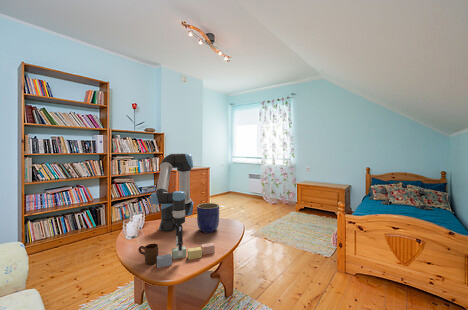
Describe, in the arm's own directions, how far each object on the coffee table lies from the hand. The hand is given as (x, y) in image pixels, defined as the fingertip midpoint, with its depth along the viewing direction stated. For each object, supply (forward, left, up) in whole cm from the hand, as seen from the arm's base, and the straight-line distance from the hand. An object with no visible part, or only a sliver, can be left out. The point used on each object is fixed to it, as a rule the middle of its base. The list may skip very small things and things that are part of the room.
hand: (179, 250), depth 131 cm
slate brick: (+7, -9, -4) cm, 12 cm away
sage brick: (0, 0, -4) cm, 4 cm away
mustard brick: (+4, +9, -4) cm, 11 cm away
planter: (-37, +27, -4) cm, 46 cm away
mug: (0, -18, -4) cm, 18 cm away
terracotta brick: (+1, +18, -4) cm, 19 cm away
